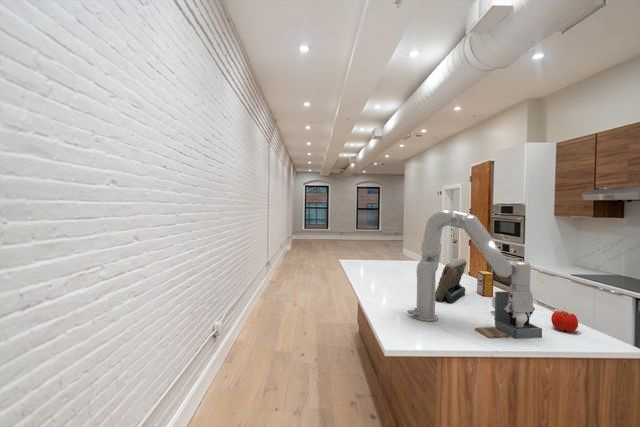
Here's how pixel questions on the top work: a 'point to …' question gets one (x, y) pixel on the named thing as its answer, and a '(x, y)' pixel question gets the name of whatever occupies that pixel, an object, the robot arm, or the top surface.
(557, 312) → the tomato
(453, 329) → the top surface
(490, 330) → the walnut board
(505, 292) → the equipment case
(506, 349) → the top surface
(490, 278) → the baking soda box
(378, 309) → the top surface
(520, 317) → the lightbulb
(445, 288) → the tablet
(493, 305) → the security camera
